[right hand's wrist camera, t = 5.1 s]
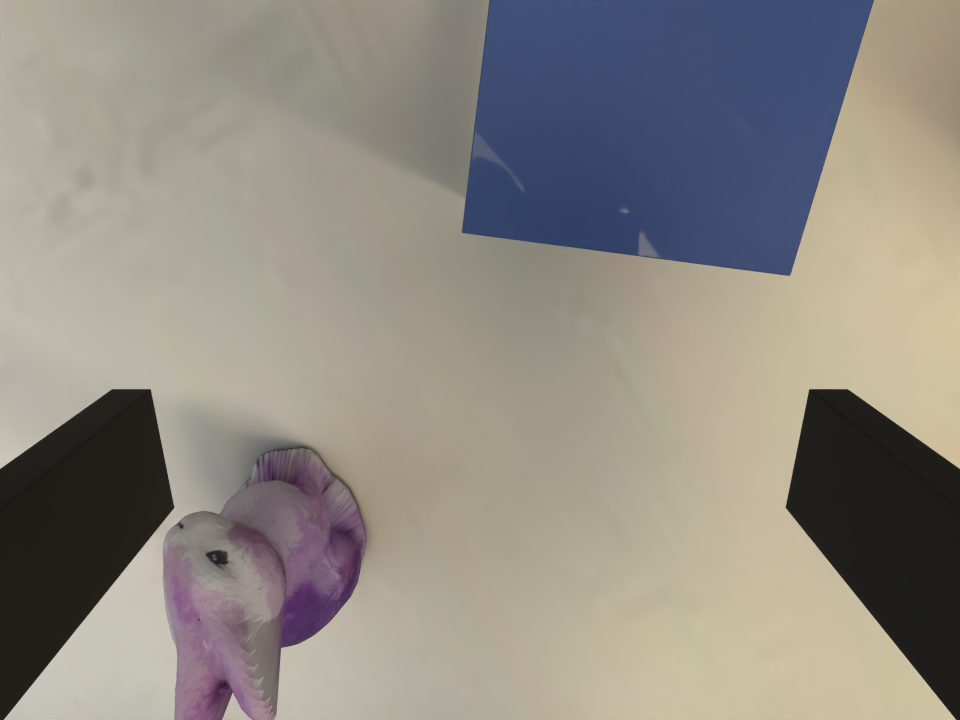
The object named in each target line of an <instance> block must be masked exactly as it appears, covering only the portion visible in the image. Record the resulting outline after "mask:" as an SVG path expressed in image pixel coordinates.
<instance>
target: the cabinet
mask: <svg viewBox="0 0 960 720" xmlns="http://www.w3.org/2000/svg"><path fill="white" fill-rule="evenodd" d="M873 1H874V0H490V1H489V10H488V18H487V26H486V35H485V43H484V51H483V60H482V68H481V77H480V85H479V93H478V102H477V110H476V118H475V127H474V135H473V144H472V152H471V160H470V169H469V177H468V185H467V194H466V202H465V211H464V219H463V227H462V232H463V233H467V234H475V235H483V236H490V237H498V238H506V239H513V240H521V241H528V242H536V243H544V244H551V245H559V246H566V247H574V248H582V249H589V250H597V251H604V252H612V253H620V254H627V255H635V256H642V257H650V258H658V259H665V260H673V261H680V262H688V263H696V264H703V265H711V266H718V267H726V268H734V269H741V270H749V271H756V272H764V273H772V274H779V275H787V276H789V275H790V274H791V271H792V267H793V264H794V261H795V258H796V254H797V251H798V248H799V244H800V241H801V238H802V235H803V231H804V228H805V225H806V221H807V218H808V215H809V212H810V208H811V205H812V202H813V198H814V195H815V192H816V189H817V185H818V182H819V179H820V175H821V172H822V169H823V166H824V162H825V159H826V156H827V152H828V149H829V146H830V143H831V139H832V136H833V133H834V129H835V126H836V123H837V120H838V116H839V113H840V110H841V106H842V103H843V100H844V97H845V93H846V90H847V87H848V83H849V80H850V77H851V73H852V70H853V67H854V64H855V60H856V57H857V54H858V50H859V47H860V44H861V41H862V37H863V34H864V31H865V27H866V24H867V21H868V18H869V14H870V11H871V8H872V4H873Z"/></svg>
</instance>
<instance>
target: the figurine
mask: <svg viewBox="0 0 960 720" xmlns="http://www.w3.org/2000/svg"><path fill="white" fill-rule="evenodd" d="M365 547H366V533H365V528H364V525H363V522H362V519H361V516H360V513H359V510H358V507H357V504H356V502H355V500H354V498H353V496H352V494H351V493H350V489H349V488H347V487H346V486H345V485H344V484H343V483H341V482H340V481H339V480H338V479H337V478H335V477H334V476H333V475H331V474H330V472H329V471H328V470H327V468H326V467H325V465H324V464H323V462H322V461H321V459H320V458H319V457H318V456H317V455H316V454H315V453H314V452H313V451H312V450H310V449H304V448H297V449H293V450H291V449H289V450H284V451H282V450H280V451H275V452H274V451H272V452H270V453H266V454H265V455H262V456H261V457H260V458H259V459H258V460H257V461H256V462H255V464H254V466H253V468H252V473H251V479H250V480H247V481H246V482H245V483H244V484H242V486H241V488H240V489H239V491H238V493H236V494H235V495H234V496H233V497H231V498H230V500H229V501H228V502H227V503H226V505H225V506H224V508H223V510H222V511H221V513H220V515H218V514H215V513H212V512H208V511H200V512H195V513H192V514H189V515H187V516H185V517H184V518H183V519H182V520H181V521H180V522H179V523H177V524H176V525H174V526H173V527H172V528H171V529H170V530H169V531H168V533H167V534H166V537H165V540H164V544H163V587H164V598H165V607H166V613H167V618H168V622H169V626H170V631H171V635H172V639H173V641H174V643H175V645H176V647H177V657H178V659H177V681H176V688H175V714H174V717H175V720H222V718H223V716H224V713H225V711H226V708H227V705H228V703H229V700H230V698H231V695H232V693H234V695H235V697H236V699H237V701H238V703H239V705H240V707H241V709H242V710H243V711H244V712H245V713H246V714H247V716H249V717H250V718H251V719H253V720H274V719H275V716H276V713H277V699H278V684H279V670H280V655H281V648H283V647H288V646H292V645H296V644H299V643H301V642H303V641H305V640H306V639H308V638H310V637H312V636H313V635H315V634H316V633H317V632H319V631H320V630H321V629H322V628H323V627H324V626H326V625H327V624H328V623H329V622H330V621H331V620H332V619H333V617H334V616H335V615H336V614H337V613H338V611H339V610H340V609H341V608H342V607H343V605H344V604H345V603H346V602H347V600H348V599H349V598H350V597H351V595H352V593H353V591H354V589H355V587H356V585H357V582H358V577H359V573H360V567H361V562H362V559H363V556H364V552H365Z"/></svg>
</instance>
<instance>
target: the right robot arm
mask: <svg viewBox="0 0 960 720" xmlns="http://www.w3.org/2000/svg"><path fill="white" fill-rule="evenodd" d="M173 509H174V504H173V499H172V494H171V489H170V484H169V479H168V474H167V469H166V464H165V459H164V454H163V449H162V444H161V439H160V434H159V429H158V424H157V419H156V414H155V409H154V404H153V399H152V394H151V389H112V390H111V391H109V392H108V393H106V394H105V395H104V396H102V397H101V398H99V399H98V400H97V401H95V402H94V403H92V404H91V405H90V406H88V407H87V408H85V409H84V410H83V411H81V412H80V413H78V414H77V415H75V416H74V417H73V418H71V419H70V420H68V421H67V422H66V423H64V424H63V425H61V426H60V427H59V428H57V429H56V430H54V431H53V432H52V433H50V434H49V435H47V436H46V437H45V438H43V439H42V440H40V441H39V442H38V443H36V444H35V445H33V446H32V447H31V448H29V449H28V450H26V451H25V452H24V453H22V454H21V455H19V456H18V457H17V458H15V459H14V460H12V461H11V462H9V463H8V464H7V465H5V466H4V467H2V468H1V469H0V720H4V719H5V717H6V716H7V715H8V714H9V712H10V711H11V710H12V709H13V708H14V706H15V705H16V704H17V703H18V701H19V700H20V699H21V698H22V696H23V695H24V694H25V693H26V691H27V690H28V689H29V688H30V686H31V685H32V684H33V683H34V681H35V680H36V679H37V678H38V676H39V675H40V674H41V673H42V671H43V670H44V669H45V668H46V666H47V665H48V664H49V663H50V661H51V660H52V659H53V658H54V657H55V655H56V654H57V653H58V652H59V650H60V649H61V648H62V647H63V645H64V644H65V643H66V642H67V640H68V639H69V638H70V637H71V635H72V634H73V633H74V632H75V630H76V629H77V628H78V627H79V625H80V624H81V623H82V622H83V620H84V619H85V618H86V617H87V615H88V614H89V613H90V612H91V611H92V609H93V608H94V607H95V606H96V604H97V603H98V602H99V601H100V599H101V598H102V597H103V596H104V594H105V593H106V592H107V591H108V589H109V588H110V587H111V586H112V584H113V583H114V582H115V581H116V579H117V578H118V577H119V576H120V574H121V573H122V572H123V571H124V569H125V568H126V567H127V566H128V565H129V563H130V562H131V561H132V560H133V558H134V557H135V556H136V555H137V553H138V552H139V551H140V550H141V548H142V547H143V546H144V545H145V543H146V542H147V541H148V540H149V538H150V537H151V536H152V535H153V533H154V532H155V531H156V530H157V528H158V527H159V526H160V525H161V523H162V522H163V521H164V520H165V519H166V517H167V516H168V515H169V514H170V512H171V511H172V510H173ZM786 509H787V510H788V511H789V512H790V514H791V515H792V516H793V517H794V519H795V520H796V521H797V522H798V523H799V525H800V526H801V527H802V528H803V530H804V531H805V532H806V533H807V535H808V536H809V537H810V538H811V540H812V541H813V542H814V543H815V545H816V546H817V547H818V548H819V550H820V551H821V552H822V553H823V555H824V556H825V557H826V558H827V560H828V561H829V562H830V563H831V565H832V566H833V567H834V568H835V569H836V571H837V572H838V573H839V574H840V576H841V577H842V578H843V579H844V581H845V582H846V583H847V584H848V586H849V587H850V588H851V589H852V591H853V592H854V593H855V594H856V596H857V597H858V598H859V599H860V601H861V602H862V603H863V604H864V606H865V607H866V608H867V609H868V611H869V612H870V613H871V614H872V615H873V617H874V618H875V619H876V620H877V622H878V623H879V624H880V625H881V627H882V628H883V629H884V630H885V632H886V633H887V634H888V635H889V637H890V638H891V639H892V640H893V642H894V643H895V644H896V645H897V647H898V648H899V649H900V650H901V652H902V653H903V654H904V655H905V657H906V658H907V659H908V660H909V661H910V663H911V664H912V665H913V666H914V668H915V669H916V670H917V671H918V673H919V674H920V675H921V676H922V678H923V679H924V680H925V681H926V683H927V684H928V685H929V686H930V688H931V689H932V690H933V691H934V693H935V694H936V695H937V696H938V698H939V699H940V700H941V701H942V703H943V704H944V705H945V706H946V708H947V709H948V710H949V711H950V712H951V714H952V715H953V716H954V717H955V719H956V720H960V469H959V468H958V467H956V466H955V465H953V464H952V463H951V462H949V461H948V460H946V459H945V458H943V457H942V456H941V455H939V454H938V453H936V452H935V451H934V450H932V449H931V448H929V447H928V446H927V445H925V444H924V443H922V442H921V441H920V440H918V439H917V438H915V437H914V436H913V435H911V434H910V433H908V432H907V431H906V430H904V429H903V428H901V427H900V426H899V425H897V424H896V423H894V422H893V421H892V420H890V419H889V418H887V417H886V416H885V415H883V414H882V413H880V412H879V411H877V410H876V409H875V408H873V407H872V406H870V405H869V404H868V403H866V402H865V401H863V400H862V399H861V398H859V397H858V396H856V395H855V394H854V393H852V392H851V391H849V390H848V389H809V394H808V399H807V404H806V409H805V414H804V419H803V424H802V429H801V434H800V439H799V444H798V449H797V454H796V459H795V464H794V469H793V474H792V479H791V484H790V489H789V494H788V499H787V504H786Z"/></svg>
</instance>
